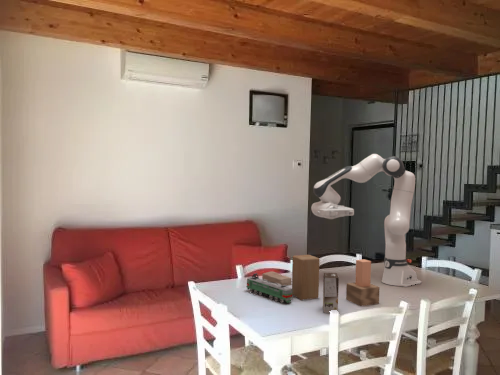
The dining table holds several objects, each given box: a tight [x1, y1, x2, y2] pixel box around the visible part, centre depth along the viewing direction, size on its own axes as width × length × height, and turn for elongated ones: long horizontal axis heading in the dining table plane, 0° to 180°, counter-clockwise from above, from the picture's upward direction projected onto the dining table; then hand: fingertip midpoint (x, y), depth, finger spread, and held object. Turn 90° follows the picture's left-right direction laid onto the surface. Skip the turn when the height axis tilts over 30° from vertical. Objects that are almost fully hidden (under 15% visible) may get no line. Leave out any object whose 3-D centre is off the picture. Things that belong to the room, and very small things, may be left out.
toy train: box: [245, 272, 293, 304], centre depth 214 cm, size 5×31×10 cm, turn 41°
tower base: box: [345, 282, 380, 307], centre depth 208 cm, size 11×11×8 cm
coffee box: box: [322, 272, 340, 314], centre depth 195 cm, size 9×6×16 cm
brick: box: [261, 271, 292, 287], centre depth 241 cm, size 17×8×5 cm, turn 39°
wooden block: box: [291, 254, 320, 301], centre depth 215 cm, size 10×10×20 cm
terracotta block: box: [354, 259, 372, 287], centre depth 208 cm, size 5×5×12 cm
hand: (345, 213), depth 233 cm, fingers open, 8 cm apart
